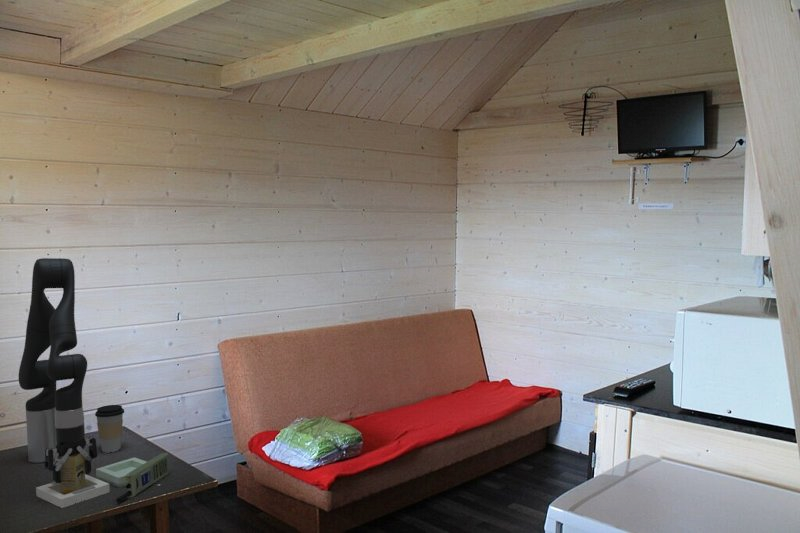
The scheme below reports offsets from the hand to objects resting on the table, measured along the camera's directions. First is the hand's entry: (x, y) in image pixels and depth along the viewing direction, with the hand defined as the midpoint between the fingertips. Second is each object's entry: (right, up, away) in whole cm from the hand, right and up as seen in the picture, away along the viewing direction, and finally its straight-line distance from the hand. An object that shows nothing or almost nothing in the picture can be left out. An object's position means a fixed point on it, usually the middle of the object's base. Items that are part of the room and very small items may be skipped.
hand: (72, 478), depth 201 cm
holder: (0, -5, 0) cm, 5 cm away
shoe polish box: (0, -5, 0) cm, 5 cm away
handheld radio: (+19, -5, +4) cm, 20 cm away
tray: (+10, -4, +14) cm, 18 cm away
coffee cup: (-5, -3, +40) cm, 40 cm away
